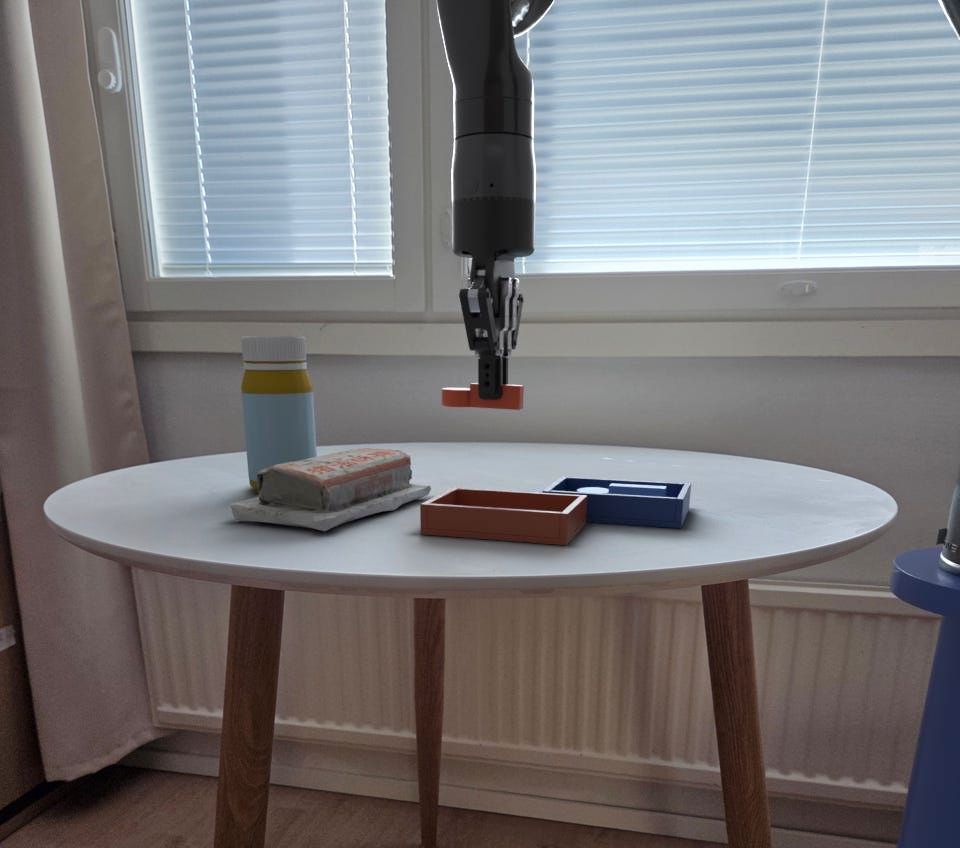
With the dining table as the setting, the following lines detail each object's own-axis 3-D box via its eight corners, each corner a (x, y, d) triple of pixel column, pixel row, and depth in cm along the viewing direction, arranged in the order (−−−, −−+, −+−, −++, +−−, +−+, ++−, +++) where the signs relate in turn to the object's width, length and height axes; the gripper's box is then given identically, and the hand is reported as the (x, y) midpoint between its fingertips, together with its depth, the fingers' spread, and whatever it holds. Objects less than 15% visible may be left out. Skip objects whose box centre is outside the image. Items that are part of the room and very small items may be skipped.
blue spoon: (666, 508, 79) (668, 484, 79) (662, 515, 76) (664, 490, 76) (579, 503, 81) (580, 479, 81) (572, 509, 79) (573, 485, 78)
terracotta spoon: (525, 407, 85) (526, 384, 84) (516, 410, 82) (517, 386, 81) (447, 403, 87) (448, 380, 86) (437, 406, 84) (437, 382, 84)
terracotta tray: (586, 524, 75) (587, 495, 74) (566, 545, 68) (567, 513, 67) (452, 514, 79) (452, 487, 78) (420, 534, 71) (419, 504, 71)
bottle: (323, 483, 94) (315, 336, 89) (312, 495, 87) (302, 337, 82) (259, 483, 94) (246, 336, 89) (242, 494, 87) (228, 336, 82)
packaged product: (345, 442, 89) (431, 448, 85) (347, 489, 90) (431, 498, 86) (224, 466, 74) (322, 475, 69) (229, 522, 75) (325, 534, 71)
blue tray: (688, 510, 81) (691, 483, 80) (681, 528, 74) (683, 499, 73) (560, 502, 85) (561, 476, 84) (541, 518, 77) (541, 490, 76)
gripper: (513, 185, 71) (512, 405, 77) (551, 206, 83) (547, 394, 89) (427, 189, 73) (432, 403, 79) (476, 209, 85) (477, 393, 91)
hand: (493, 397), depth 84 cm, fingers closed on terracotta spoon, 1 cm apart
